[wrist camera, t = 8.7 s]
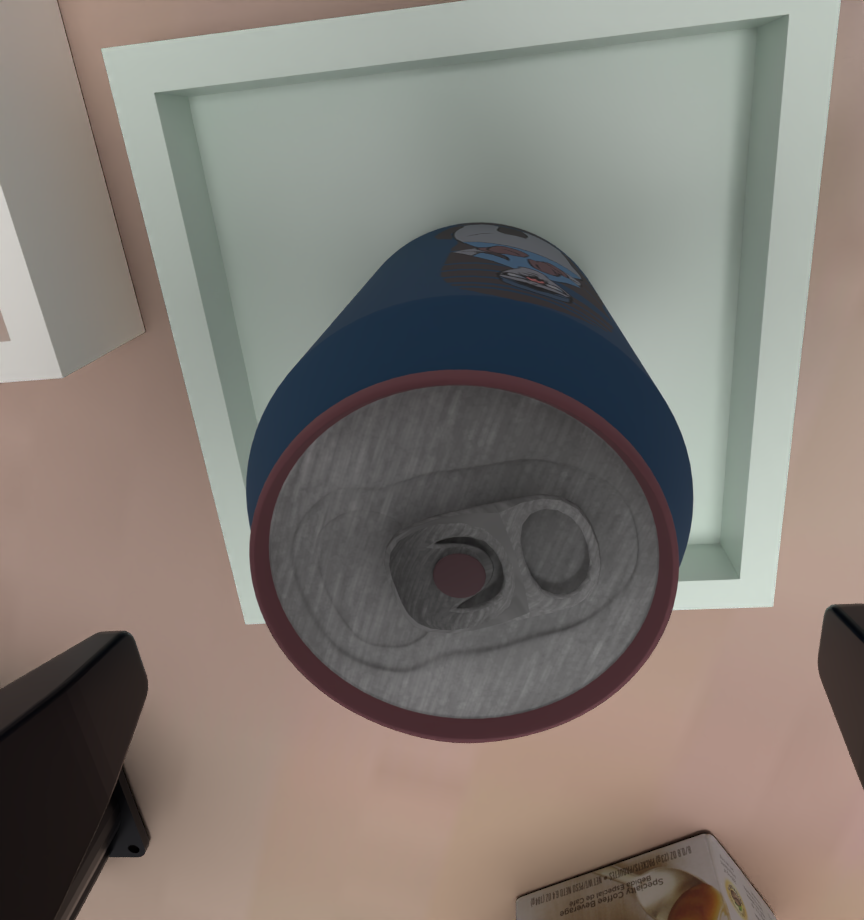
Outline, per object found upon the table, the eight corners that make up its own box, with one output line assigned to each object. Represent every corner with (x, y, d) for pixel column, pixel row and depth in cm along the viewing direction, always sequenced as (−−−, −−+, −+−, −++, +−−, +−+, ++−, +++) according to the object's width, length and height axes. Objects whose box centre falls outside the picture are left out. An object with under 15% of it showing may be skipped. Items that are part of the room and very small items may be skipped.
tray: (746, 562, 23) (773, 606, 21) (267, 581, 25) (245, 624, 23) (800, -26, 17) (846, -50, 14) (147, 58, 18) (100, 48, 16)
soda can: (401, 478, 22) (312, 804, 11) (323, 260, 20) (111, 413, 9) (624, 423, 21) (762, 732, 10) (571, 181, 18) (680, 247, 8)
